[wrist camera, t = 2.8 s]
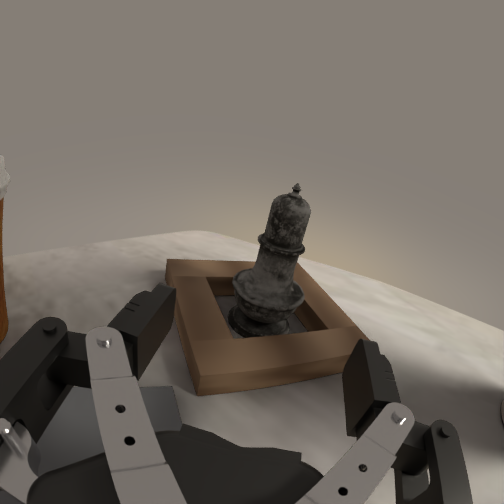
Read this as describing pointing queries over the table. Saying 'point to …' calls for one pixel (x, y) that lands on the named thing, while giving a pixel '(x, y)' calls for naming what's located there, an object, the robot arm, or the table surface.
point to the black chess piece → (272, 272)
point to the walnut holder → (255, 348)
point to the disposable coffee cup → (0, 184)
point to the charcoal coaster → (93, 428)
